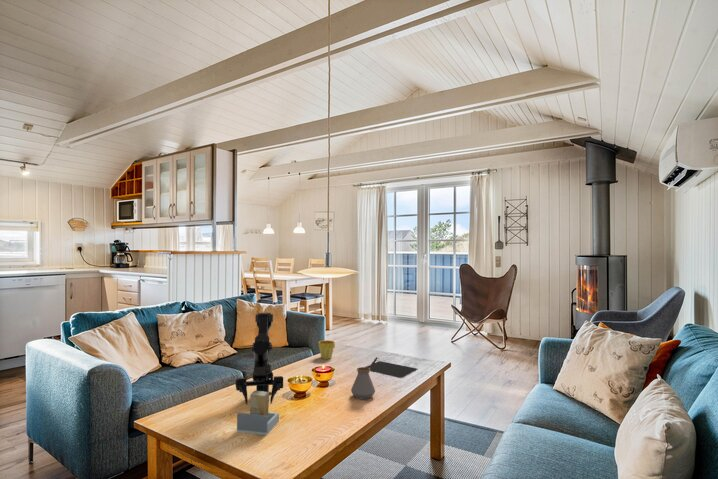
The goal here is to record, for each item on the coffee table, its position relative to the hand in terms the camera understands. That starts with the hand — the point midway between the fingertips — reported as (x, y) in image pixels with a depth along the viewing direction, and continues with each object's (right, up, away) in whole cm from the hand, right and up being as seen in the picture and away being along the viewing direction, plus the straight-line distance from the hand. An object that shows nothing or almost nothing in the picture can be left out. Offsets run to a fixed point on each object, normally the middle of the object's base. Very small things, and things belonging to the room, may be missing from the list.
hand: (258, 404), depth 157 cm
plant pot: (+19, -11, +98) cm, 101 cm away
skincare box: (0, -8, +1) cm, 8 cm away
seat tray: (0, -9, 0) cm, 9 cm away
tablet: (+57, -12, +76) cm, 96 cm away
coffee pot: (+44, -10, +38) cm, 59 cm away
